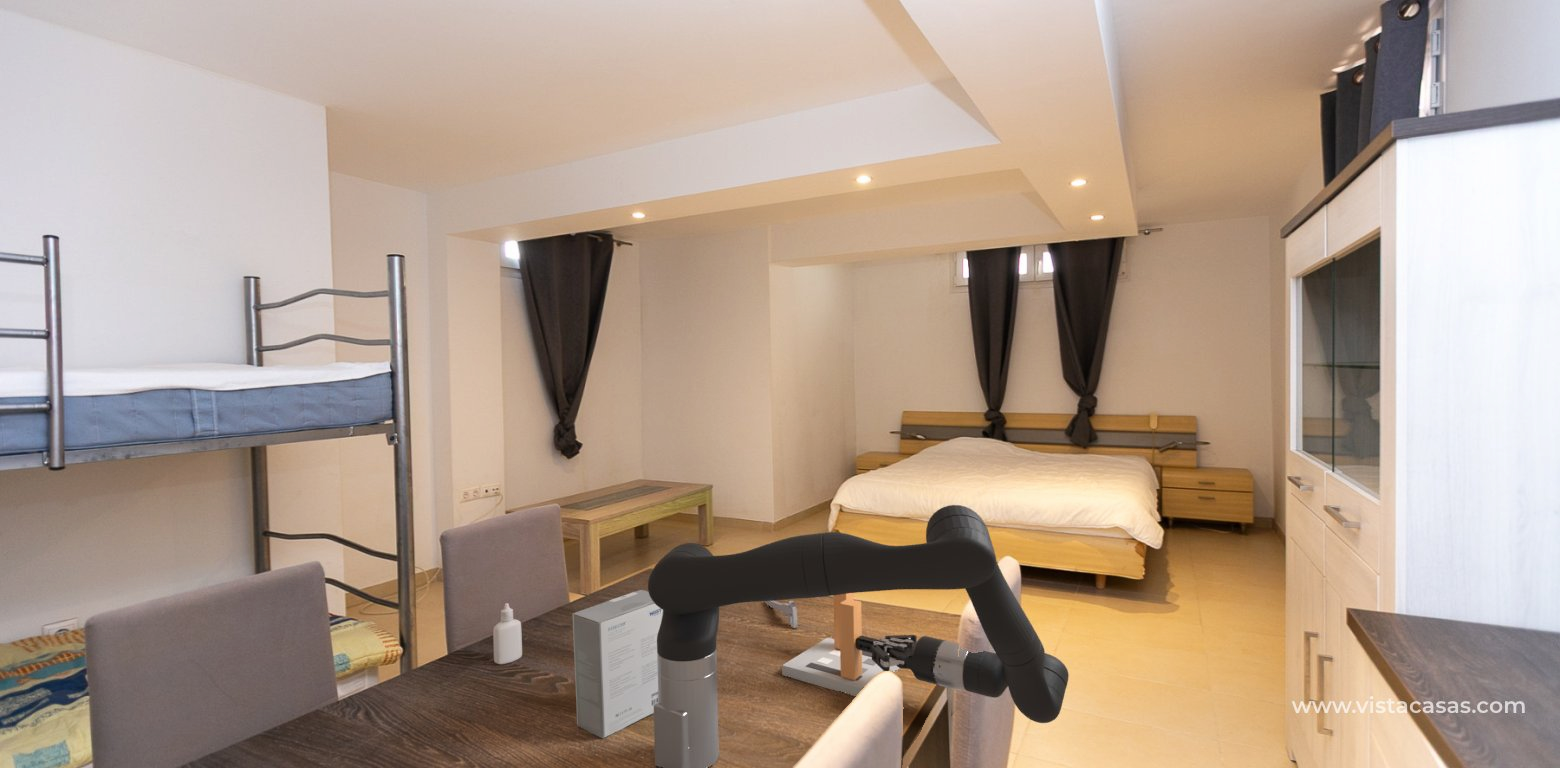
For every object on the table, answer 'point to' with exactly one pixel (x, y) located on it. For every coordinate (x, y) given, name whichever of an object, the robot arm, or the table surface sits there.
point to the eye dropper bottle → (507, 638)
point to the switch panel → (830, 668)
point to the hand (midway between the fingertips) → (857, 642)
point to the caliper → (786, 610)
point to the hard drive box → (616, 662)
